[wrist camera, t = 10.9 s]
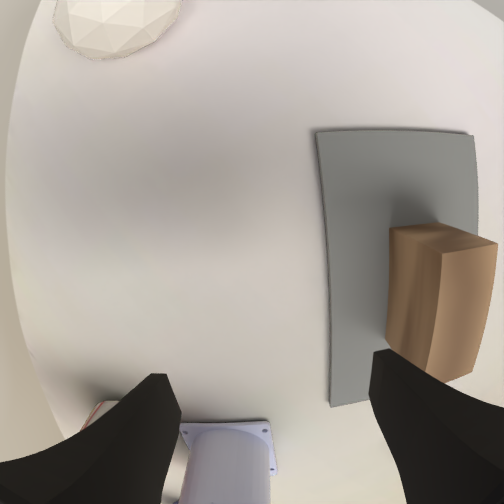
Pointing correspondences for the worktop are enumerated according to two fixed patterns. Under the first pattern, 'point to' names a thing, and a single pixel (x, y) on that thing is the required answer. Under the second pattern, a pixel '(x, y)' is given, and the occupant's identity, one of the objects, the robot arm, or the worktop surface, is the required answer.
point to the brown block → (438, 296)
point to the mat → (382, 229)
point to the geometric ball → (112, 25)
